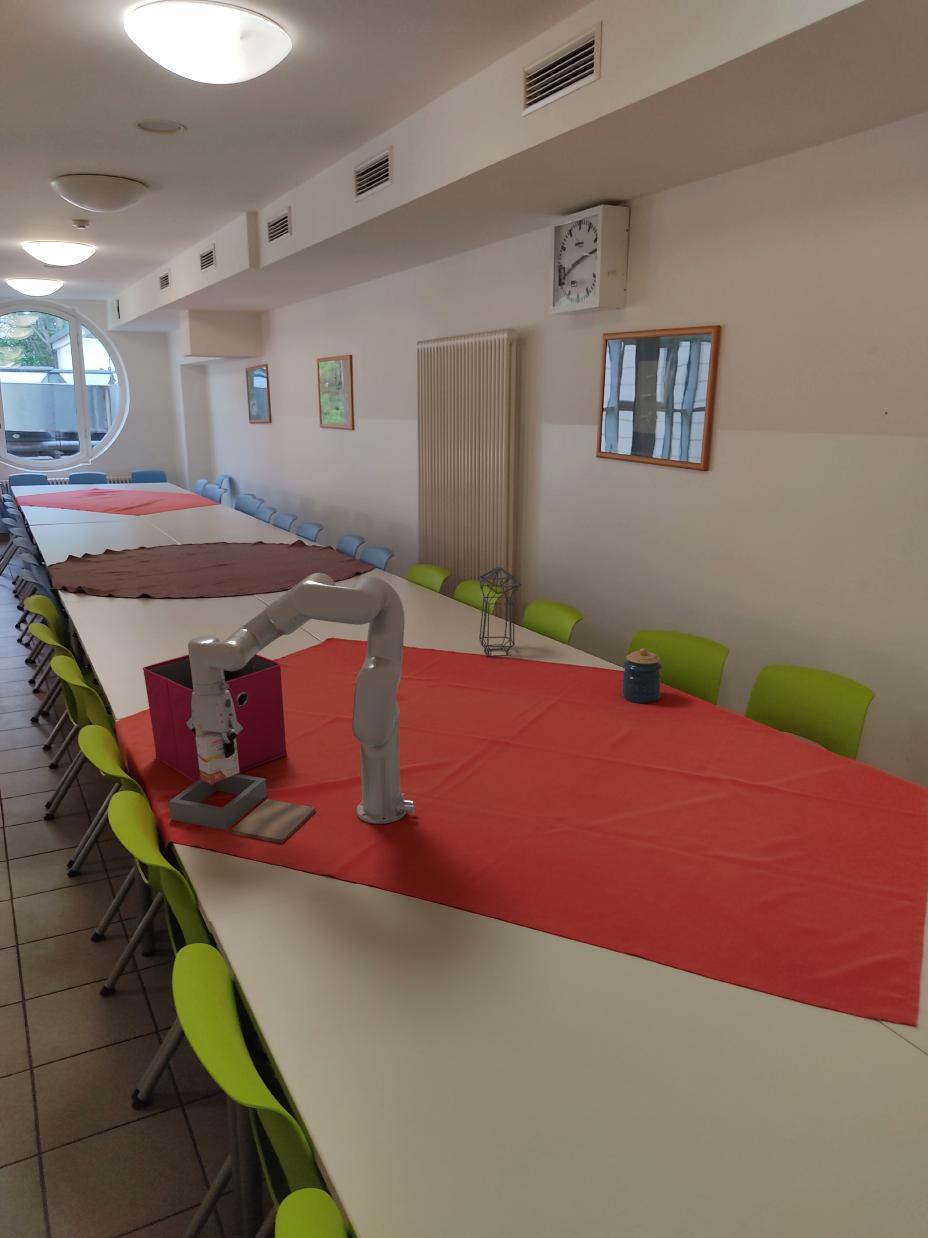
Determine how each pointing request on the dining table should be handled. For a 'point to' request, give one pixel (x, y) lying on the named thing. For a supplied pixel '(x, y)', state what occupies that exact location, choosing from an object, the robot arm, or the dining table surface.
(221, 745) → the ink cartridge box
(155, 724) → the storage bin
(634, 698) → the canister
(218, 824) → the gray rectangular frame
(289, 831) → the walnut mat
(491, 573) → the geometric lantern
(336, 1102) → the dining table surface
